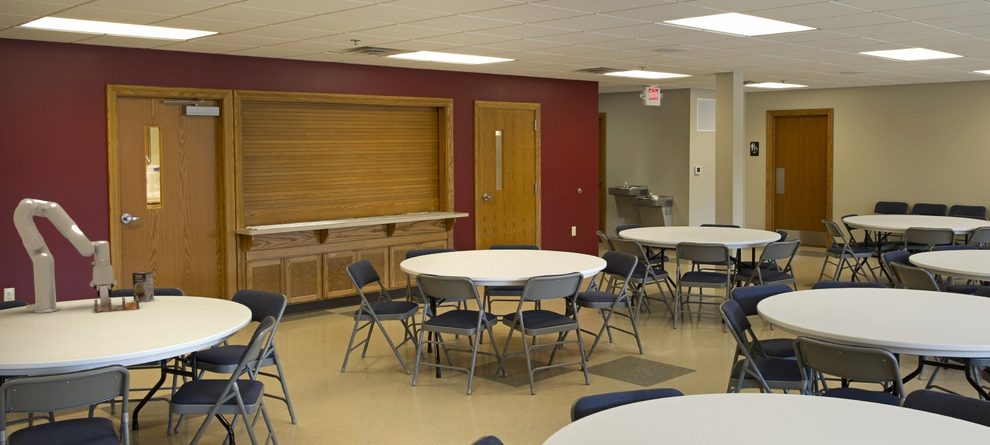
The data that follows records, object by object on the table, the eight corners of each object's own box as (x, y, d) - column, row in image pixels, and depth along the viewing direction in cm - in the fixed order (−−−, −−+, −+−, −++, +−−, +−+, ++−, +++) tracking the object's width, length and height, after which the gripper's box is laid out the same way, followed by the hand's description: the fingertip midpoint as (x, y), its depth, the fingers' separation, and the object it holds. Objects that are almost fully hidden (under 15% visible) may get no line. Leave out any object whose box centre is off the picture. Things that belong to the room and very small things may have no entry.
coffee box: (133, 301, 468) (131, 272, 467) (141, 299, 474) (139, 271, 473) (146, 302, 466) (145, 273, 464) (154, 300, 472) (153, 271, 471)
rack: (94, 313, 434) (94, 303, 434) (95, 308, 448) (94, 299, 448) (139, 309, 443) (139, 300, 443) (138, 304, 457) (137, 296, 457)
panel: (100, 307, 451) (99, 288, 451) (100, 304, 461) (99, 286, 461) (108, 306, 453) (107, 288, 452) (108, 303, 463) (107, 285, 462)
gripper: (85, 265, 448) (87, 299, 450) (119, 263, 455) (121, 296, 457) (85, 264, 455) (87, 297, 457) (119, 261, 462) (121, 294, 464)
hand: (104, 296), depth 457 cm, fingers closed on panel, 4 cm apart
